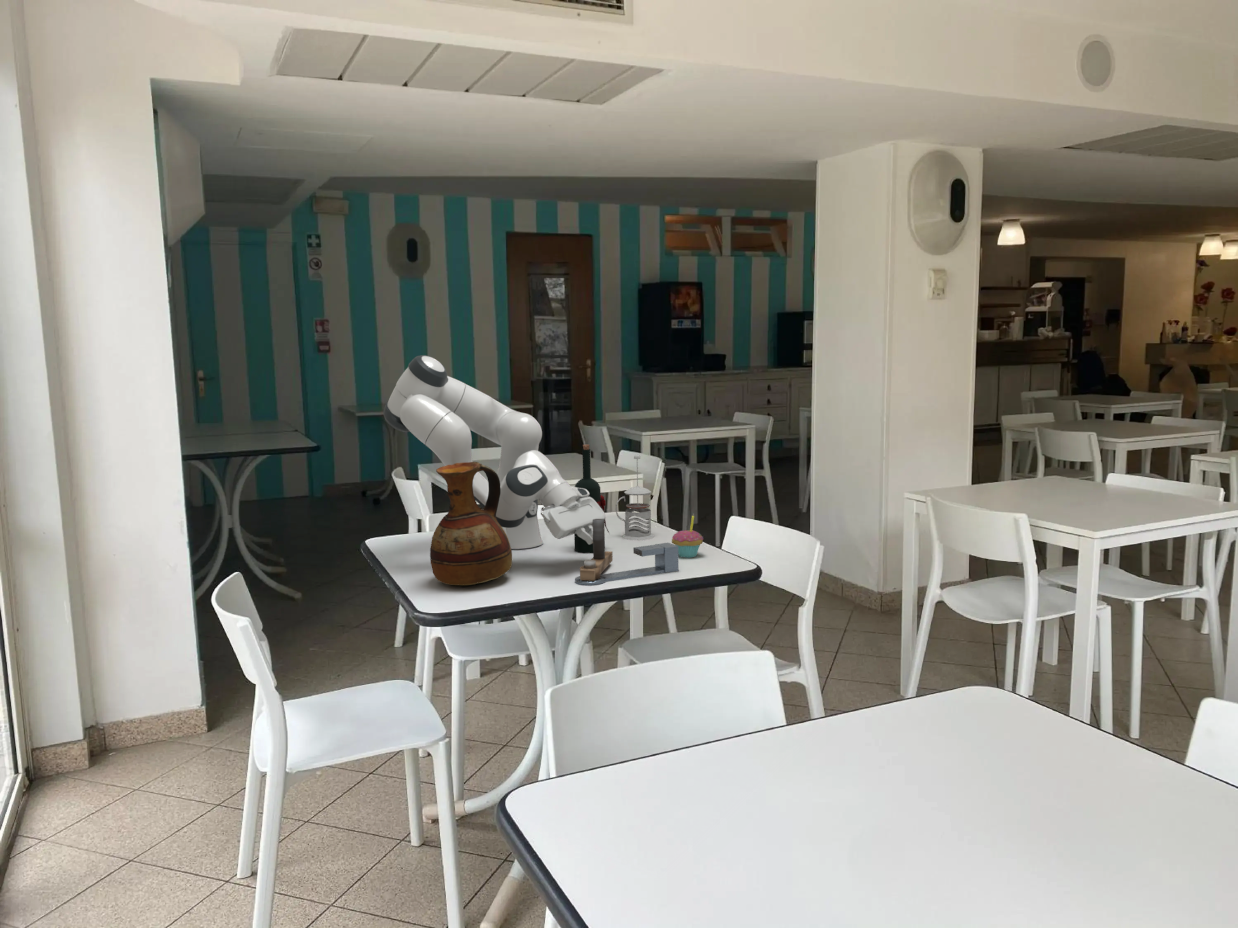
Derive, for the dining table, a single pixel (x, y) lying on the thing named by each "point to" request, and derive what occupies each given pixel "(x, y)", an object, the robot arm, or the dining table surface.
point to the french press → (637, 514)
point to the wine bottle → (594, 492)
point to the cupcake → (687, 541)
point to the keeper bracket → (663, 563)
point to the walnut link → (596, 554)
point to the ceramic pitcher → (469, 531)
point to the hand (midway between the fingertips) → (593, 542)
